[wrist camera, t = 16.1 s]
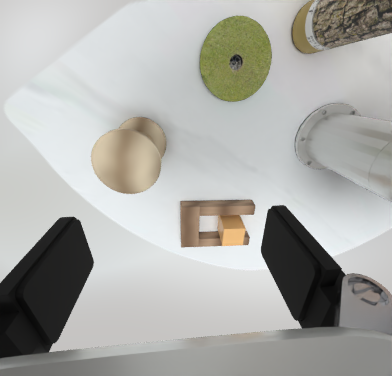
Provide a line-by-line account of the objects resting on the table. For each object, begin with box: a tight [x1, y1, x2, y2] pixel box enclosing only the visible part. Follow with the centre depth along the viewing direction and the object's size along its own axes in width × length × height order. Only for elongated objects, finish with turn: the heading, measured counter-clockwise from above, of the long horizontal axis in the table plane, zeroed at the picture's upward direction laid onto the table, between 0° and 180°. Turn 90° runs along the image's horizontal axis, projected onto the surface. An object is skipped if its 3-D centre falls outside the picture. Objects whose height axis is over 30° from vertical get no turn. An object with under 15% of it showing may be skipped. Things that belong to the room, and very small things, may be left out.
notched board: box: [181, 200, 255, 247], centre depth 45 cm, size 16×11×2 cm
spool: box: [91, 117, 166, 194], centre depth 32 cm, size 9×9×12 cm
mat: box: [200, 16, 272, 102], centre depth 32 cm, size 11×11×2 cm
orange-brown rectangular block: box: [218, 215, 246, 246], centre depth 44 cm, size 4×4×6 cm
